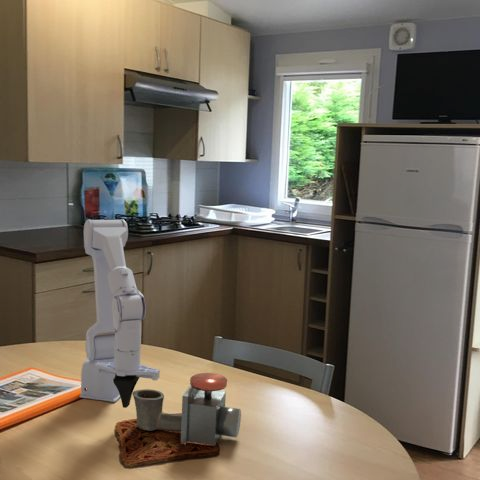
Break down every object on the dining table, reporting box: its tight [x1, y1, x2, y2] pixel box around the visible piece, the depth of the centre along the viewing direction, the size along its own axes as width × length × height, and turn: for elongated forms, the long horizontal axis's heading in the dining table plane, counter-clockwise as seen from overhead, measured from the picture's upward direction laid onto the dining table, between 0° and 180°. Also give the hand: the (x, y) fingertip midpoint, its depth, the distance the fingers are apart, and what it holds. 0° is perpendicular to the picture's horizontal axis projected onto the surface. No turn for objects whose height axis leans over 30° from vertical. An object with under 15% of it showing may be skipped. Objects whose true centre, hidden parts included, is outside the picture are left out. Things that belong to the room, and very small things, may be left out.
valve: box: [180, 372, 242, 445], centre depth 136 cm, size 12×11×13 cm
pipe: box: [132, 388, 182, 433], centre depth 138 cm, size 6×13×8 cm, turn 77°
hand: (126, 405), depth 140 cm, fingers closed
